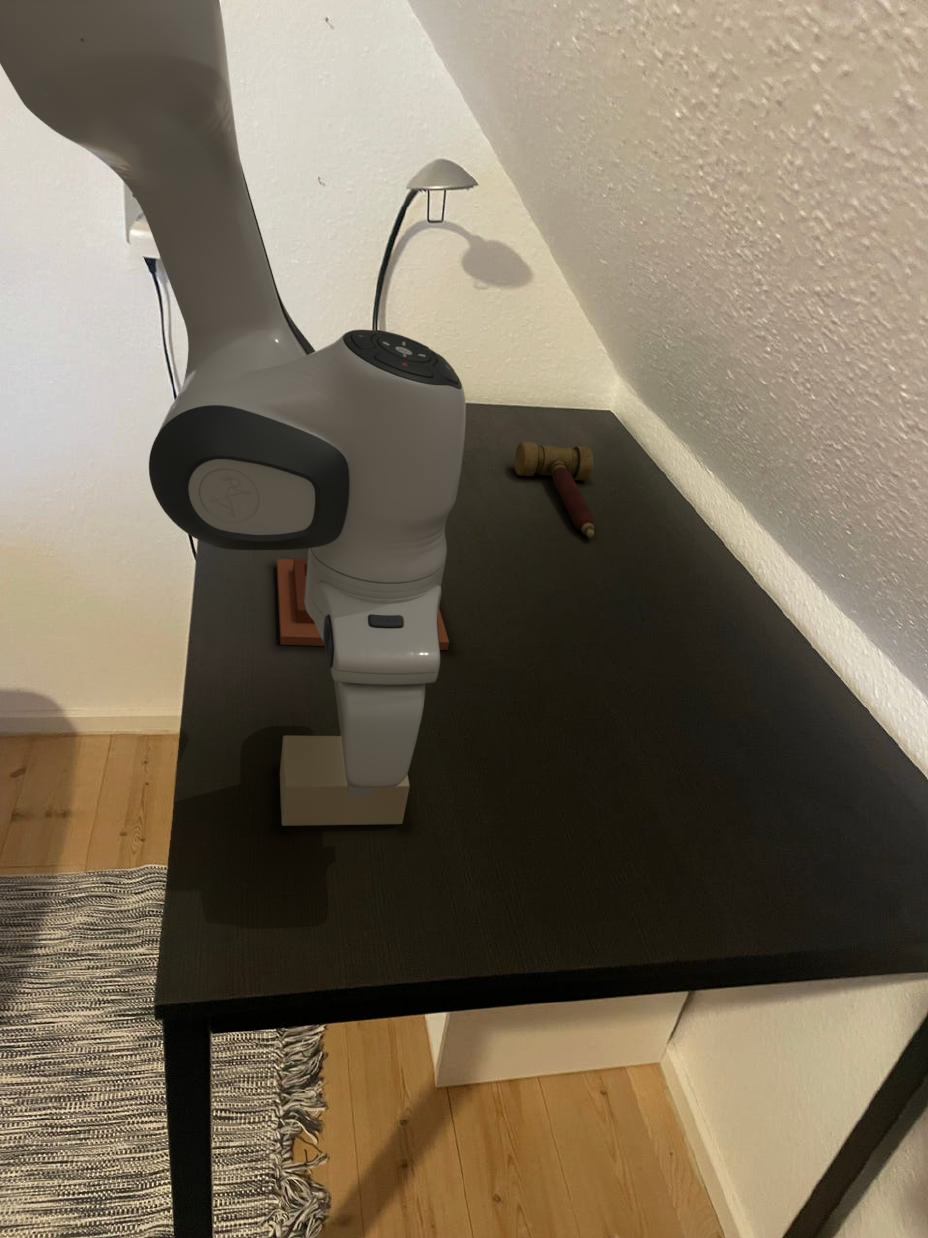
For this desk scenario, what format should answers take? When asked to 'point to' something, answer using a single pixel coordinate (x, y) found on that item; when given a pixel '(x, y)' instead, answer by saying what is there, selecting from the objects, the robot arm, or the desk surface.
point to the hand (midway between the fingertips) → (353, 744)
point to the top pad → (330, 787)
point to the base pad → (293, 611)
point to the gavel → (561, 476)
